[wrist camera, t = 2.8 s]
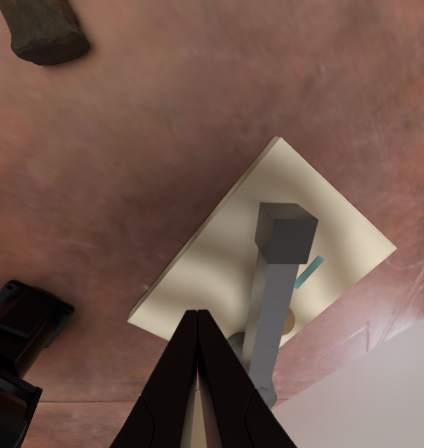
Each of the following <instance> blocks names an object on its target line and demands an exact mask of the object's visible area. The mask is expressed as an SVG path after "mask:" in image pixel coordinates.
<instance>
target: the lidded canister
mask: <svg viewBox="0 0 424 448" xmlns="http://www.w3.org/2000/svg"><path fill="white" fill-rule="evenodd" d="M190 448H207V445H206V437H205V428H204V420H203V412H202V404H201V396H200V389H199V390H198V391H196V395H195V405H194V415H193V425H192V436H191V446H190Z"/></svg>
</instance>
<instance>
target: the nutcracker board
mask: <svg viewBox="0 0 424 448" xmlns="http://www.w3.org/2000/svg"><path fill="white" fill-rule="evenodd" d="M260 202H271V203H297V204H298V205H300V206H301V207H302V208H304V209H305V210H306V211H308V212H309V213H310V214H312V215H313V216H314V217H316V218H317V219H318V220H319V221H318V225H317V228H316V232H315V236H314V240H313V244H312V247H311V251H310V255H309V259H308V263H307V264H300V265H299V269H298V273H297V277H296V281H295V285H294V289H293V293H292V297H291V301H290V305H289V309H288V313H287V317H286V321H285V325H284V329H283V333H282V337H281V341H280V345H279V347H281V346H282V345H283V344H284V343H285V342H286V341H288V340H289V339H290V338H291V337H292V336H294V335H295V334H296V333H297V332H298V331H300V330H301V329H302V328H303V327H304V326H305V325H307V324H308V323H309V322H310V321H311V320H313V319H314V318H315V317H316V316H317V315H319V314H320V313H321V312H322V311H323V310H325V309H326V308H327V307H328V306H329V305H330V304H332V303H333V302H334V301H335V300H336V299H338V298H339V297H340V296H341V295H342V294H344V293H345V292H346V291H347V290H348V289H349V288H351V287H352V286H353V285H354V284H355V283H357V282H358V281H359V280H360V279H361V278H363V277H364V276H365V275H366V274H367V273H368V272H370V271H371V270H372V269H373V268H374V267H376V266H377V265H378V264H379V263H380V262H382V261H383V260H384V259H385V258H386V257H388V256H389V255H390V254H391V253H392V252H393V251H395V250H396V249H397V248H396V247H395V246H394V245H393V244H392V243H391V242H390V241H389V240H388V239H387V238H386V237H385V236H384V235H383V234H382V233H381V232H380V231H378V230H377V229H376V228H375V227H374V226H373V225H372V224H371V223H370V222H369V221H368V220H367V219H366V218H365V217H364V216H363V215H362V214H361V213H360V212H359V211H358V210H357V209H355V208H354V207H353V206H352V205H351V204H350V203H349V202H348V201H347V200H346V199H345V198H344V197H343V196H342V195H341V194H340V193H339V192H338V191H337V190H336V189H335V188H334V187H332V186H331V185H330V184H329V183H328V182H327V181H326V180H325V179H324V178H323V177H322V176H321V175H320V174H319V173H318V172H317V171H316V170H315V169H314V168H313V167H312V166H310V165H309V164H308V163H307V162H306V161H305V160H304V159H303V158H302V157H301V156H300V155H299V154H298V153H297V152H296V151H295V150H294V149H293V148H292V147H291V146H290V145H289V144H287V143H286V142H285V141H284V140H283V139H282V138H281V137H275V136H274V137H273V138H272V140H271V141H270V142H269V143H268V145H267V146H266V147H265V148H264V149H263V151H262V152H261V153H260V154H259V156H258V157H257V158H256V159H255V160H254V162H253V163H252V164H251V165H250V166H249V168H248V169H247V170H246V171H245V173H244V174H243V175H242V176H241V177H240V179H239V180H238V181H237V182H236V184H235V185H234V186H233V187H232V188H231V190H230V191H229V192H228V193H227V194H226V196H225V197H224V198H223V199H222V201H221V202H220V203H219V204H218V205H217V207H216V208H215V209H214V210H213V212H212V213H211V214H210V215H209V216H208V218H207V219H206V220H205V221H204V223H203V224H202V225H201V226H200V227H199V229H198V230H197V231H196V232H195V233H194V235H193V236H192V237H191V238H190V240H189V241H188V242H187V243H186V244H185V246H184V247H183V248H182V249H181V251H180V252H179V253H178V254H177V255H176V257H175V258H174V259H173V260H172V261H171V263H170V264H169V265H168V266H167V268H166V269H165V270H164V271H163V272H162V274H161V275H160V276H159V277H158V279H157V280H156V281H155V282H154V283H153V285H152V286H151V287H150V288H149V289H148V291H147V292H146V293H145V294H144V296H143V297H142V298H141V299H140V300H139V302H138V303H137V304H136V305H135V307H134V308H133V309H132V310H131V313H130V316H129V319H128V322H130V323H132V324H134V325H136V326H138V327H140V328H142V329H145V330H147V331H149V332H151V333H153V334H155V335H157V336H160V337H162V338H164V339H166V340H168V341H170V339H171V337H172V335H173V333H174V332H175V330H176V328H177V326H178V324H179V322H180V320H181V319H182V317H183V315H184V313H185V311H186V310H192V309H196V310H198V309H208V310H209V311H210V313H211V315H212V316H213V318H214V320H215V321H216V323H217V325H218V326H219V328H220V329H221V331H222V333H223V334H224V336H225V338H226V339H227V340H228V339H229V338H230V337H232V336H233V335H235V334H239V333H245V331H246V325H247V318H248V312H249V306H250V299H251V293H252V287H253V280H254V274H255V268H256V261H257V255H258V247H257V245H256V243H255V242H254V240H255V233H256V226H257V220H258V213H259V206H260Z"/></svg>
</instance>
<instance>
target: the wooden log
mask: <svg viewBox="0 0 424 448" xmlns="http://www.w3.org/2000/svg"><path fill="white" fill-rule="evenodd" d="M0 10H1V12H2V14H3V16H4V18H5V20H6V22H7V25H8V27H9V30H10V32H11V48H12V50H13V52H14V53H15V54H16V55H17V57H19V58H21V59H24V60H26V61H30V62H33V63H34V64H37V65H39V66H40V65H53V64H56V63H59V62H64V61H69V60H72V59H75V58H77V57H79V56H81V55H82V54H83V53H85V52H87V50H88V49H89V48H90V44H89V42H88V41H87V40H86V37H85V34H84V33H83V31H82V30H81V29H80V28H79V27H78V26H77V25H76V20H75V17H74V14H73V10H72V8H71V6H70V5H69V4H68V3H66V2H65V1H64V0H0Z"/></svg>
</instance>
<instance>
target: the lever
mask: <svg viewBox="0 0 424 448" xmlns="http://www.w3.org/2000/svg"><path fill="white" fill-rule="evenodd" d="M318 221H319V220H318V219H317V218H316V217H314V216H313V215H312V214H310V213H309V212H308V211H306V210H305V209H304V208H302V207H301V206H300V205H298V204H297V203H271V202H260V206H259V213H258V220H257V226H256V233H255V240H254V242H255V243H256V245H257V247H258V255H257V261H256V268H255V274H254V280H253V287H252V293H251V299H250V306H249V312H248V318H247V325H246V331H245V333H239V334H235V335H233V336H232V337H230V338H229V339H228V340H227V341H228V343H229V344H230V346H231V347H232V349H233V351H234V352H235V354H236V356H237V357H238V359H239V360H240V362H241V364H242V365H243V367H244V369H245V370H246V372H247V374H248V375H249V377H250V378H251V380H252V382H253V383H254V385H255V388H256V389H257V390H258V391H259V393H260V395H261V396H262V398H263V399H264V401H265V403H266V404H267V406H268V407H269V409H270V408H272V407H273V406H274V404H275V403H276V401H277V395H276V392H275V389H274V386H273V382H272V379H271V378H272V374H273V370H274V366H275V361H276V357H277V353H278V349H279V345H280V341H281V337H282V333H283V329H284V325H285V321H286V317H287V313H288V309H289V305H290V301H291V297H292V293H293V289H294V285H295V281H296V277H297V273H298V269H299V265H300V264H307V263H308V259H309V255H310V251H311V247H312V244H313V240H314V236H315V232H316V228H317V225H318Z"/></svg>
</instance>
